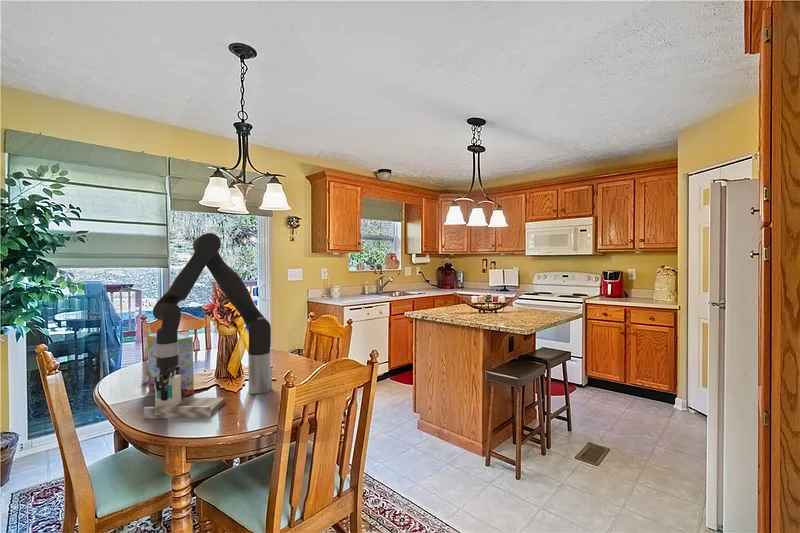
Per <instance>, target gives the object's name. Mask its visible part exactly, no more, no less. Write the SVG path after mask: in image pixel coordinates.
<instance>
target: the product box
mask: <svg viewBox="0 0 800 533" xmlns="http://www.w3.org/2000/svg"><path fill="white" fill-rule="evenodd" d="M164 382H167V380H165V381H164ZM164 386H165V384H164ZM159 388H160V386H159ZM167 393H168V399H167V400H166V401H161V391H157V390H156V384H155V392H154V395H155V397H154V398H155V405H154V406H155V407H169V406H177V405H178V404H179V403H181V375H175V376H171V378H169V384H168V389H167Z"/></svg>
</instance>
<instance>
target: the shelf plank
mask: <svg viewBox="0 0 800 533" xmlns="http://www.w3.org/2000/svg"><path fill="white" fill-rule="evenodd" d="M224 404H226V397H182V398H181V403H179V404H178V405H177V406H169V407H155V405H154V406H144V407H143V419H144V418H148V419H183V418H185V419H188V418H193V419H194V418H211V416H213V415H214V414H215V413H216V412H217V411H218V410H219V409H220V408H221V407H222V406H223V405H224Z"/></svg>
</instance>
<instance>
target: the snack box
mask: <svg viewBox="0 0 800 533" xmlns="http://www.w3.org/2000/svg"><path fill="white" fill-rule="evenodd" d="M193 338H194V337H193V336H189V335H185V334H179V333H178V347H179V364H178V365H177V366H176V367H180V374H179V375H181V398H186V397H187V396H191V395H195V385H194V384H195V383H194V379H195V378H194V353H193V352H194V341H193V340H194V339H193ZM146 341H147V342H146V344H147V349H148V350H147V362H148V376H149V377H148V376H147V377H148V390H149V392H154V393H155V376H159V373H160V369H159V368H157V367H156V346H157V332H156V333H152V334H147V335H146Z"/></svg>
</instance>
